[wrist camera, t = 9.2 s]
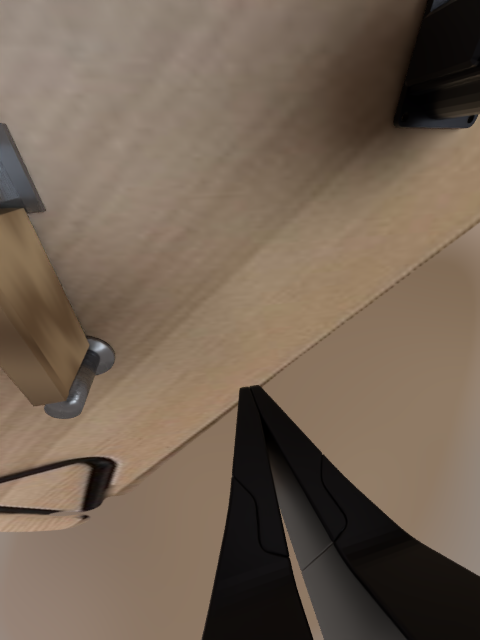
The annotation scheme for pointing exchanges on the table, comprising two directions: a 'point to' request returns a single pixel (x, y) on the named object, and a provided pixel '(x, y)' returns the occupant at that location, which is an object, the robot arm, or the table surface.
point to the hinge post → (84, 379)
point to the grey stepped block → (15, 178)
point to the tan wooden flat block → (35, 316)
